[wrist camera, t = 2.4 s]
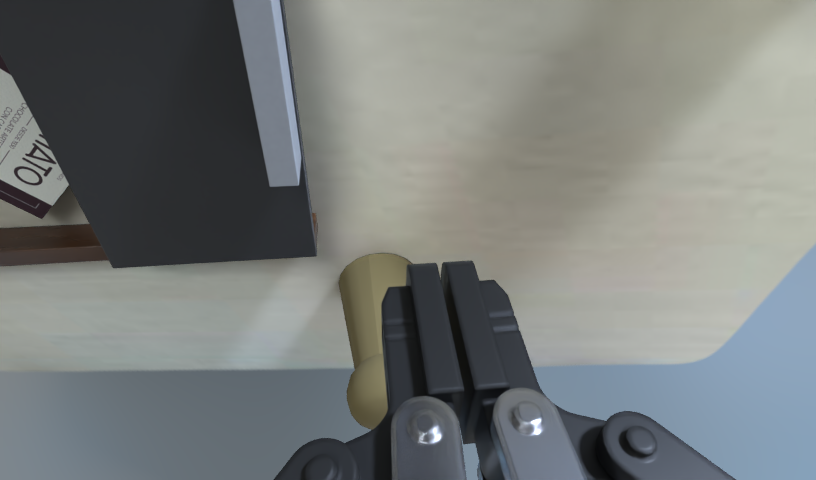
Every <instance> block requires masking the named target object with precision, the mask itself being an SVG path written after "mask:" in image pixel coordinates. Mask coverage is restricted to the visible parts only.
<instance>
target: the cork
mask: <svg viewBox="0 0 816 480" xmlns="http://www.w3.org/2000/svg"><path fill="white" fill-rule="evenodd" d="M409 264H412V263H411V262H409V261H408V260H407V259H405V258H402V257H400V256H397V255H394V254H385V253H379V254H371V255H367V256H364V257H361V258H359V259H356V260H355V261H353V262H352V263H350V264H349V265H348V266H346V268H345V269H344V271H343V272H342V273H341V275H340V279H339V288H340V293H341V299H342V304H343V309H344V315H345V320H346V325H347V330H348V336H349V341H350V346H351V352H352V357H353V362H354V368H355V371H354V372H353V373H352V375H351V377H350V380H349V384H348V388H347V401H348V405H349V408H350V412H351V414H352V416H353V417H354V419H355V420H356V421H357V422H358V423H359V424H360V425H362V426H364V427H366V428H368V429H371V430H373V429H374V428H375V427H376V426H377V425H378V424H379V423H380V422H381V421H382V420H383V418H384V417H385V415H386V413H387V410H388V405H387V394H386V382H385V371H384V359H383V348H382V319H381V303H382V301H383V298H384V296H385V293H386V291H387V289H388V287H395V286H406V269H407V265H409Z"/></svg>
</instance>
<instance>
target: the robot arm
mask: <svg viewBox="0 0 816 480" xmlns="http://www.w3.org/2000/svg"><path fill="white" fill-rule="evenodd" d="M381 319H382V348H383V359H384V371H385V382H386V394H387V405H388V410H387V413H386V415H385V417H384V418H383V420H382V421H381V422H380V423H379V424H378V425H377V426H376V427H375V428H374V429H373V430H371V431H370V432H368V433H366V434H364V435H362V436H360V437H358V438H355V439H353V440H351V441H349V442H346V443H343V442H341V441H339V440H336V439H331V438H321V439H317V440H313V441H311V442H308V443H307V444H305V445H303V446H302V447H301V448H299V449H298V450H297V451H296V452H295V453H294V455H293V456H292V457H291V458H290V460H289V461H288V462H287V463H286V465H285V466H284V467H283V469H282V470H281V471H280V472H279V474H278V475H277V476H276V477H275V479H274V480H467V479H466V471H465V463H464V455H463V448H462V440H461V435H462V439H463V444H470V443H476V448H477V453H478V457H479V463H478V469H477V476H478V480H736V479H734V478H733V477H732V476H730V475H728V474H727V473H726V472H725V471H723V470H722V469H720V468H719V467H718V466H716V465H715V464H714V463H712V462H711V461H709V460H708V459H707V458H705V457H704V456H702V455H701V454H700V453H698V452H697V451H696V450H694V449H693V448H692V447H690V446H689V445H687V444H686V443H684V442H683V441H682V440H680V439H679V438H678V437H676V436H675V435H674V434H672V433H670V432H669V431H668V430H667V429H665V428H664V427H663V426H661V425H660V424H658V423H657V422H656V421H654V420H652V419H651V418H649V417H647V416H645V415H643V414H640V413H637V412H631V411H624V412H619V413H616V414H614V415H612V416H611V417H610V418H609V419H608V420H607V421H603V420H599V419H595V418H590V417H586V416H581V415H577V414H573V413H570V412H567V411H565V410H563V409H561V408H559V407H558V406H556V405H555V404H553V403H552V402H551V401H550V400H549V399H548V398H547V397H546V396H545V395H544V393H543V392H542V390H541V389H540V387H539V384H538V382H537V379H536V376H535V373H534V371H533V368H532V365H531V362H530V359H529V356H528V353H527V350H526V347H525V344H524V341H523V338H522V335H521V333H520V331H519V329H518V324H517V321H516V318H515V316H514V312H513V309H512V306H511V303H510V300H509V298H508V295H507V294H506V293H505V291H504V290H503V289H502V288H501V287H500V286H499V285H498V284H497V283H496V281H495V280H486V281H479V279H478V275H477V272H476V269H475V265H474V263H473V261H456V262H443V264H442V270H441V280H440V276H439V271H438V267H437V264H436V263H426V264H409V265H407V269H406V286H395V287H388V289H387V291H386V293H385V296H384V298H383V301H382V303H381ZM460 430H461V433H460Z"/></svg>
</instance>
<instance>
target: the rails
mask: <svg viewBox="0 0 816 480" xmlns="http://www.w3.org/2000/svg"><path fill="white" fill-rule="evenodd" d="M312 217H313V224H314V232H315V239H316V247H317V232H318V225H317V217H316V213H312ZM103 260H109V259H108V258H107V256H106V254H105V252H104V250H103V248H102V246H101V244H100V242H99V241H98V239H97V237H96V235H95V233H94V231H93V229H92V227H91V225H90V224H81V225H61V226H41V227H21V228H1V229H0V266H15V265H32V264H50V263H68V262H85V261H103Z"/></svg>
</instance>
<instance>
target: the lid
mask: <svg viewBox="0 0 816 480" xmlns="http://www.w3.org/2000/svg"><path fill="white" fill-rule="evenodd" d="M0 55H1V57H2V59H3V60H4V62H5V64H6V66H7V68H8V70H9V72H10V74H11V76H12V78H13V79H14V81H15V83H16V85H17V87H18V89H19V91H20V93H21V95H22V96H23V98H24V100H25V102H26V104H27V106H28V108H29V110H30V112H31V114H32V115H33V117H34V119H35V121H36V123H37V125H38V127H39V129H40V131H41V132H42V134H43V136H44V138H45V140H46V142H47V144H48V146H49V148H50V150H51V151H52V153H53V155H54V157H55V159H56V161H57V163H58V165H59V167H60V168H61V170H62V172H63V174H64V176H65V178H66V180H67V182H68V184H69V186H70V187H71V189H72V191H73V193H74V195H75V197H76V199H77V201H78V203H79V205H80V206H81V208H82V210H83V212H84V214H85V216H86V218H87V220H88V222H89V223H90V225H91V227H92V229H93V231H94V233H95V235H96V237H97V239H98V241H99V242H100V244H101V246H102V248H103V250H104V252H105V254H106V256H107V258H108V259H109V261H110V263H111V265H112V267H113V268H125V267H142V266H159V265H176V264H194V263H211V262H228V261H245V260H262V259H279V258H297V257H314V256H317V247H316V239H315V232H314V224H313V217H312V209H311V202H310V194H309V187H308V179H307V172H306V164H305V157H304V149H303V142H302V134H301V127H300V120H299V112H298V105H297V97H296V90H295V82H294V75H293V67H292V60H291V52H290V45H289V37H288V30H287V22H286V15H285V7H284V0H0Z"/></svg>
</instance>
